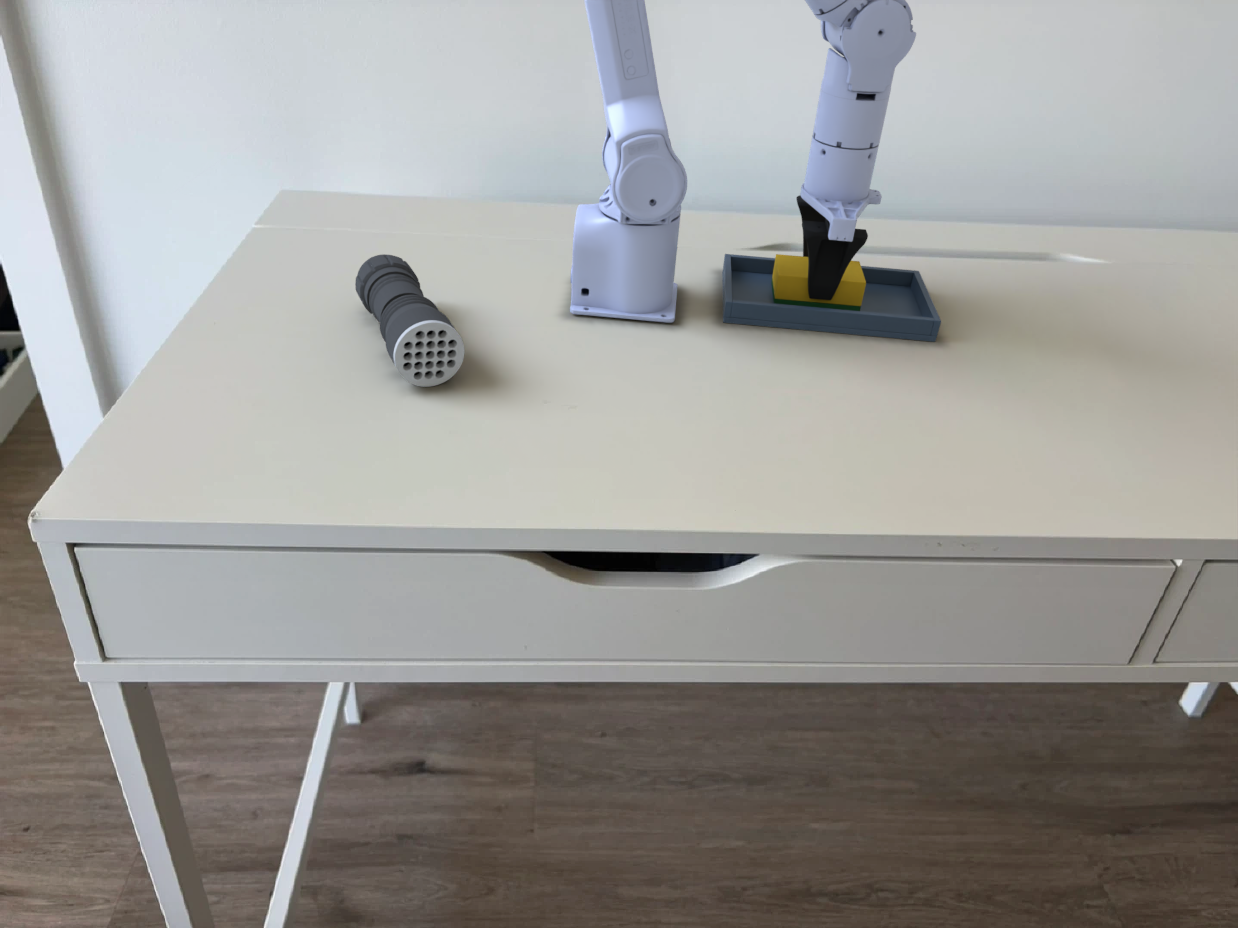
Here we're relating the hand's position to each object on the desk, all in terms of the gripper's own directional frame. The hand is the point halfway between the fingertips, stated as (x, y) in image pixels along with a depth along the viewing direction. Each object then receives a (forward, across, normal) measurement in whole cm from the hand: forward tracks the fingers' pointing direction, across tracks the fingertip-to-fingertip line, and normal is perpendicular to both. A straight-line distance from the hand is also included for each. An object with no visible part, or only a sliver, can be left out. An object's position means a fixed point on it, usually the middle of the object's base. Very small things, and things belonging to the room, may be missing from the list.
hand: (817, 285), depth 88 cm
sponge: (+1, 0, 0) cm, 1 cm away
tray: (+2, 0, -1) cm, 2 cm away
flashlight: (+2, -15, +35) cm, 38 cm away
